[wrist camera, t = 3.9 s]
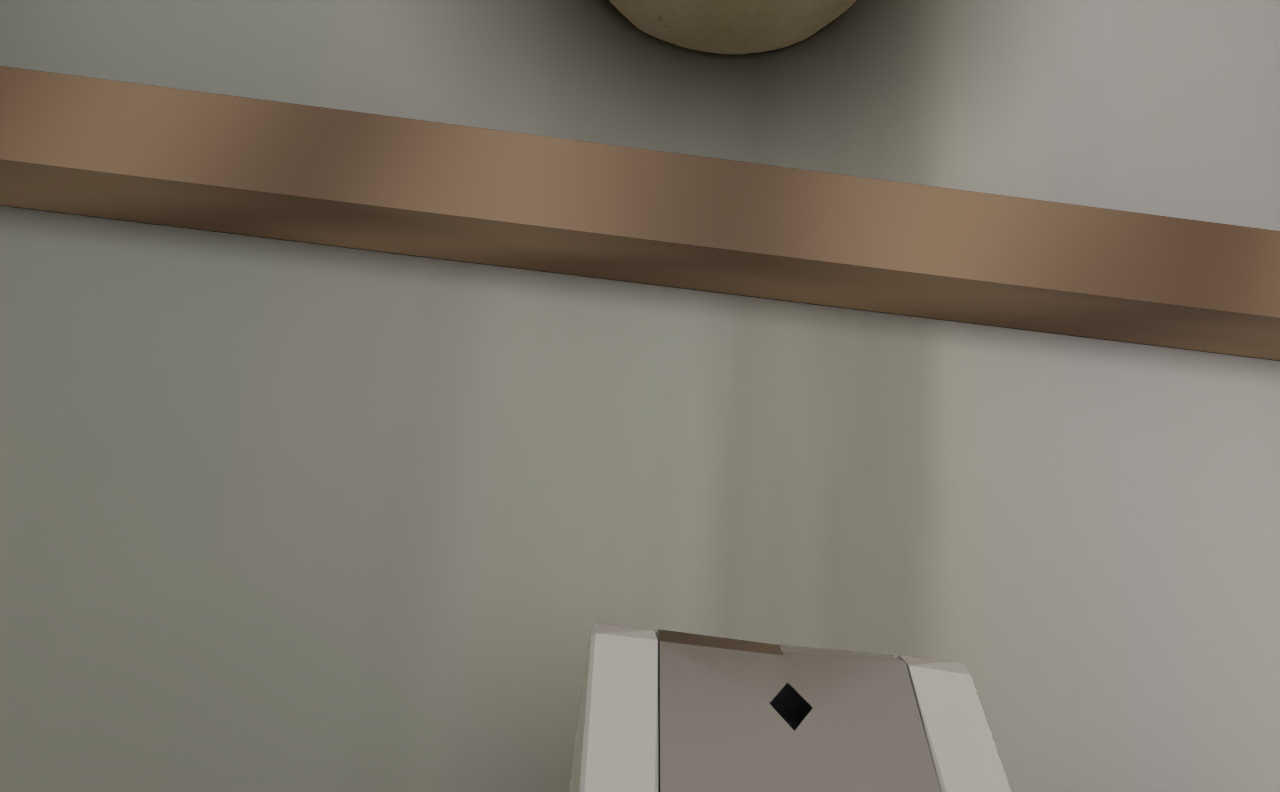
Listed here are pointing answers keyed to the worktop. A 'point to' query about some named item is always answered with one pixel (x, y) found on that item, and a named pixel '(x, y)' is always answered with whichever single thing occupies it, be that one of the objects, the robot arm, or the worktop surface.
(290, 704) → the worktop surface
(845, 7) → the flower pot
